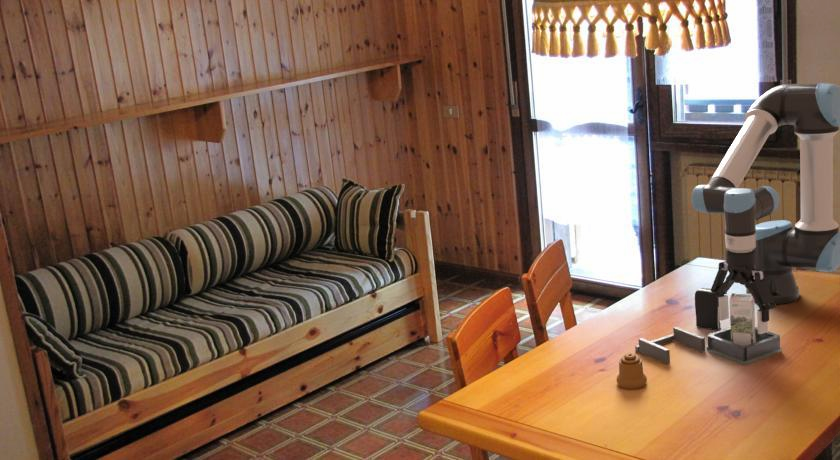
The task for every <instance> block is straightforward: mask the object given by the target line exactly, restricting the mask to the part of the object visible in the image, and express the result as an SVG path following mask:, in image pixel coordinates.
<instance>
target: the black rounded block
mask: <svg viewBox="0 0 840 460" xmlns="http://www.w3.org/2000/svg"><path fill="white" fill-rule="evenodd" d="M717 302H718V301H717V296H716V294H715V293H712V292H711V288H708V287H707V288H706V287H701V288H699V289H697V290H696V291H695V293H694V307H695V317H696V318H695V322H696V323H695V325H696V327H698V328H702V329H707V330H715V331H719V330H720V328H721V320H719V307H718V304H717Z"/></svg>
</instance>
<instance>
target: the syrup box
mask: <svg viewBox="0 0 840 460" xmlns="http://www.w3.org/2000/svg"><path fill="white" fill-rule="evenodd" d="M729 297H730V298H729V300H728V305H729V318H730V320H729V321H730V323H729V324H730V326H729V327H731V342H732V343H735V344H738V345H740V346H743V347H744V346H747V345H750V344H753V343H755V342H756V336H755V327H756V316H755V315H756V313H755V309H756V307H755V304H756V303H755V302H754V298H753V296H752V295H751V294H746V293H739V292H738V293H735V292H734V293H731V294H730V296H729Z"/></svg>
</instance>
